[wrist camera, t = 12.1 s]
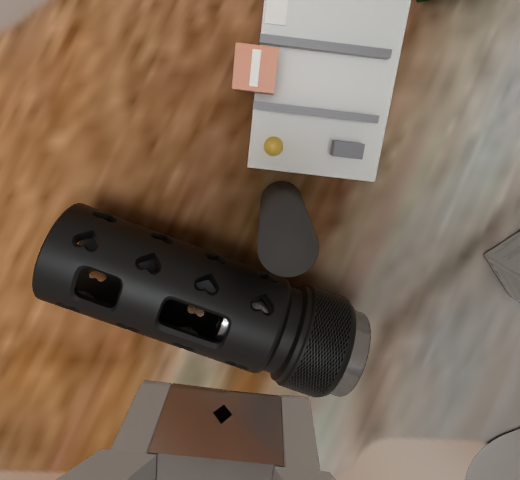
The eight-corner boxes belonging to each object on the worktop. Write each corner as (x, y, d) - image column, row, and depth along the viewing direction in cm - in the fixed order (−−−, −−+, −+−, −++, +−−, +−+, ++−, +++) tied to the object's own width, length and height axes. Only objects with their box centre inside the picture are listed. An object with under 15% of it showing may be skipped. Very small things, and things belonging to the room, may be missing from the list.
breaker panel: (395, 10, 35) (418, -8, 30) (364, 174, 39) (379, 185, 34) (266, -6, 35) (266, -27, 29) (249, 161, 39) (246, 169, 34)
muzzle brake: (99, 188, 40) (44, 214, 30) (359, 286, 43) (387, 339, 33) (76, 272, 43) (19, 321, 33) (322, 359, 46) (337, 428, 36)
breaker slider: (277, 54, 32) (279, 47, 28) (273, 95, 33) (274, 93, 29) (239, 50, 32) (235, 41, 28) (236, 90, 33) (231, 88, 29)
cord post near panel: (304, 183, 40) (323, 222, 26) (298, 223, 41) (313, 280, 27) (263, 178, 39) (260, 215, 26) (258, 219, 41) (254, 273, 27)
